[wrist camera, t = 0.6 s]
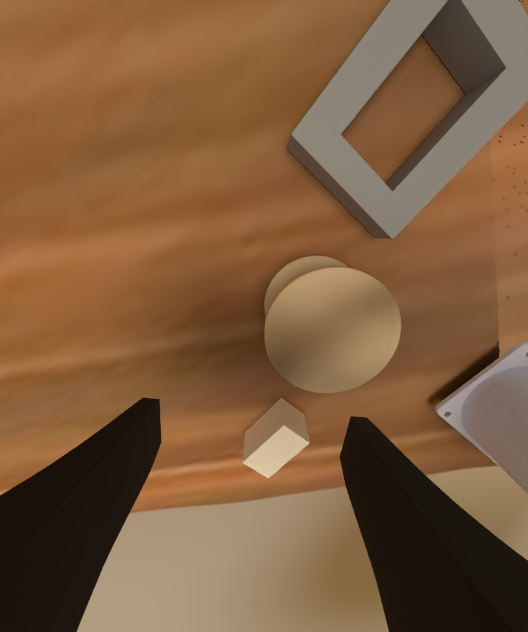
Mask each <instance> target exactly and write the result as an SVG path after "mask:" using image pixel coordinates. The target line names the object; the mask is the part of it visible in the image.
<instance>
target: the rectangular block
mask: <svg viewBox="0 0 528 632" xmlns="http://www.w3.org/2000/svg"><path fill="white" fill-rule="evenodd" d="M309 443H310V441H309V436H308V432H307V427H306V422H305V417H304V414H303V413H302V412H301V411H299V410H298V409H296V408H295V407H294V406H292V405H291V404H289V403H288V402H287V401H285V400H284V399H282V398H280V399H279V400H278V401H277V402H276V403H275V404H274V405H273V406H272V407H271V408H270V409H269V410H268V411H267V412H266V413H265V414H264V415H262V416H261V417H260V418H259V419H258V420H257V421H256V422H255V423H254V424H253V425H252V426H251V427H250V428H249V429H248V430H247V431H246V432H245V441H244V452H243V463H244V464H246V465H247V466H249V467H250V468H252V469H254V470H255V471H257V472H259V473H260V474H262V475H263V476H265V477H267V478H269V477H270V476H271V475H273V474H274V473H275V472H276V471H277V470H279V469H280V468H281V467H282V466H283V465H284V464H286V463H287V462H288V461H289V460H290V459H292V458H293V457H294V456H295V455H296V454H298V453H299V452H300V451H301V450H302V449H303V448H305V447H306V446H307V445H308V444H309Z"/></svg>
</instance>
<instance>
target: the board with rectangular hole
mask: <svg viewBox="0 0 528 632" xmlns="http://www.w3.org/2000/svg"><path fill="white" fill-rule="evenodd" d="M421 34H422V35H423V37H424V38H425V40H426V41H427V42H428V44H429V45H430V46H431V48H432V49H433V50H434V52H435V53H436V55H437V56H438V57H439V59H440V60H441V61H442V63H443V64H444V65H445V67H446V68H447V69H448V71H449V72H450V74H451V75H452V76H453V78H454V79H455V80H456V82H457V83H458V84H459V86H460V87H461V89H462V90H463V91H464V93H465V94H466V95H465V96H464V97H463V98H462V99H461V100H460V101H459V102H458V104H457V105H456V106H455V107H454V108H453V109H452V110H451V111H450V112H449V114H448V115H447V116H446V117H445V118H444V119H443V120H442V121H441V122H440V124H439V125H438V126H437V127H436V128H435V129H434V130H433V131H432V132H431V133H430V135H429V136H428V137H427V138H426V139H425V140H424V141H423V142H422V143H421V145H420V146H419V147H418V148H417V149H416V150H415V151H414V152H413V153H412V155H411V156H410V157H409V158H408V159H407V160H406V161H405V162H404V163H403V165H402V166H401V167H400V168H399V169H398V170H397V171H396V172H395V173H394V175H393V176H392V177H391V178H390V179H389V180H388V181H387V182H386V183H384V182H383V180H382V179H381V178H380V177H379V176H378V175H377V174H376V173H375V172H374V171H373V169H372V168H371V167H370V166H369V165H368V164H367V163H366V162H365V161H364V160H363V159H362V157H361V156H360V155H359V154H358V153H357V152H356V151H355V150H354V149H353V148H352V146H351V145H350V144H349V143H348V142H347V141H346V140H345V139H344V138H343V137H342V135H341V133H342V132H343V131H344V130H345V128H346V127H347V126H348V125H349V123H350V122H351V121H352V120H353V118H354V117H355V116H356V115H357V113H358V112H359V111H360V110H361V108H362V107H363V106H364V105H365V103H366V102H367V101H368V100H369V98H370V97H371V96H372V95H373V93H374V92H375V91H376V90H377V88H378V87H379V86H380V85H381V83H382V82H383V81H384V80H385V78H386V77H387V76H388V75H389V73H390V72H391V71H392V70H393V68H394V67H395V66H396V65H397V63H398V62H399V61H400V60H401V58H402V57H403V56H404V55H405V53H406V52H407V51H408V50H409V48H410V47H411V46H412V45H413V43H414V42H415V41H416V40H417V38H418V37H419V36H420V35H421ZM527 101H528V15H527V13H526V12H525V10H524V9H523V7H522V5H521V4H520V2H519V0H391V1H390V2H389V3H388V5H387V6H386V7H385V9H384V10H383V11H382V13H381V14H380V15H379V17H378V18H377V19H376V21H375V22H374V23H373V25H372V26H371V27H370V29H369V30H368V31H367V33H366V34H365V36H364V37H363V38H362V40H361V41H360V42H359V44H358V45H357V46H356V48H355V49H354V50H353V52H352V53H351V54H350V56H349V57H348V58H347V60H346V61H345V62H344V64H343V65H342V67H341V68H340V69H339V71H338V72H337V73H336V75H335V76H334V77H333V79H332V80H331V81H330V83H329V84H328V85H327V87H326V88H325V89H324V91H323V92H322V93H321V95H320V96H319V97H318V99H317V100H316V102H315V103H314V104H313V106H312V107H311V108H310V110H309V111H308V112H307V114H306V115H305V116H304V118H303V119H302V120H301V122H300V123H299V124H298V126H297V127H296V128H295V130H294V131H293V133H292V134H291V136H290V140H289V143H288V147H287V150H288V151H289V152H290V153H291V154H292V155H293V156H294V157H295V158H296V159H297V160H298V161H299V162H300V163H301V164H302V165H303V166H304V167H305V168H306V169H307V170H308V171H309V172H310V173H311V174H312V175H313V176H314V177H315V178H316V179H317V180H318V181H319V182H320V183H321V184H322V185H323V186H324V187H325V188H326V189H327V190H328V191H329V192H330V193H331V194H332V195H333V196H334V197H335V198H336V199H337V200H338V201H339V202H340V203H341V204H342V205H343V206H344V207H345V208H346V209H347V210H348V211H349V212H350V213H351V214H352V215H353V216H354V217H355V218H356V219H357V220H358V221H359V222H360V223H361V224H362V225H363V226H364V227H365V229H366V230H367V231H368V232H369V233H370V234H371V235H372V236H373V237H375V238H384V239H393V238H394V237H395V236H396V235H397V234H398V233H399V232H400V231H401V230H402V229H403V228H404V227H405V226H406V225H407V224H408V223H409V222H410V221H411V220H412V219H413V218H414V217H415V216H416V215H417V214H418V213H419V212H420V211H421V210H422V209H423V208H424V207H425V206H426V205H427V204H428V203H429V201H430V200H431V199H432V198H433V197H434V196H435V195H436V194H437V193H438V192H439V191H440V190H441V189H442V188H443V187H444V186H445V185H446V184H447V183H448V182H449V181H450V180H451V179H452V178H453V177H454V176H455V175H456V174H457V173H458V172H459V171H460V170H461V169H462V168H463V167H464V166H465V165H466V164H467V163H468V162H469V160H470V159H471V158H472V157H473V156H474V155H475V154H476V153H477V152H478V151H479V150H480V149H481V148H482V147H483V146H484V145H485V144H486V143H487V142H488V141H489V140H490V139H491V138H492V137H493V136H494V135H495V134H496V133H497V132H498V131H499V130H500V129H501V128H502V127H503V126H504V125H505V124H506V123H507V122H508V121H509V120H510V118H511V117H512V116H513V115H514V114H515V113H516V112H517V111H518V110H519V109H520V108H521V107H522V106H523V105H524V104H525V103H526V102H527Z"/></svg>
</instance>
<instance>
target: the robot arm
mask: <svg viewBox="0 0 528 632" xmlns="http://www.w3.org/2000/svg"><path fill="white" fill-rule="evenodd" d="M435 411H436V413H437V414H438V415H440V416H441V417H442V418H443V419H444V420H445V421H447V422H448V423H449V424H450V425H451V426H452V427H454V428H455V429H456V430H457V431H458V432H459V433H461V434H462V435H463V436H464V437H465V438H466V439H468V440H469V441H470V442H471V443H472V444H474V445H475V446H476V447H477V448H478V449H479V450H481V451H482V452H483V453H484V454H485V455H486V456H488V457H489V458H490V459H491V460H492V461H493V462H495V463H496V464H497V465H498V466H501V467H502V468H503V470H505V472H506V473H507V474H508V475H510V477H511V478H512V479H513V480H514V481H515V482H516V483H517V484H518V485H519V486H520V487H521V488H522V489H523V490H524V491H525V492H526V493H527V494H528V343H526V342H520V343H518V344H516V345H515V346H514V347H512V348H511V349H510V350H508V351H507V352H506V353H504V354H503V355H502V356H500V357H499V358H498V359H496V360H495V361H494V362H493V363H491V364H490V365H489V366H487V367H486V368H485V369H483V370H482V371H481V372H479V373H478V374H477V375H475V376H474V377H473V378H471V379H470V380H469V381H468V382H466V383H465V384H464V385H462V386H461V387H460V388H458V389H457V390H456V391H454V392H453V393H452V394H450V395H449V396H448V397H446V398H445V399H444V400H442V401H441V402H440V403H439V404H437V405H436V406H435ZM160 444H161V424H160V402H159V399H150V398H142V399H141V400H139V401H138V402H137V403H135V404H134V405H133V406H131V407H130V408H129V409H127V410H126V411H125V412H123V413H122V414H121V415H119V416H118V417H117V418H115V419H114V420H113V421H111V422H110V423H109V424H107V425H106V426H105V427H103V428H102V429H101V430H99V431H98V432H97V433H95V434H94V435H92V436H91V437H90V438H88V439H87V440H86V441H84V442H83V443H81V444H80V445H78V446H77V447H75V448H74V449H73V450H71V451H70V452H68V453H67V454H65V455H64V456H62V457H61V458H59V459H58V460H56V461H55V462H54V463H52V464H51V465H49V466H47V467H46V468H44V469H43V470H41V471H40V472H38V473H36V474H35V475H33V476H32V477H30V478H29V479H27V480H25V481H24V482H22V483H20V484H19V485H17V486H15V487H14V488H12V489H10V490H9V491H7V492H5V493H4V494H2V495H0V632H77V629H78V627H79V624H80V622H81V619H82V617H83V614H84V612H85V609H86V607H87V604H88V602H89V600H90V597H91V595H92V592H93V590H94V588H95V585H96V583H97V580H98V578H99V576H100V573H101V571H102V568H103V566H104V564H105V561H106V559H107V557H108V555H109V553H110V551H111V549H112V546H113V544H114V542H115V540H116V539H117V537H118V534H119V533H120V531H121V529H122V526H123V525H124V522H125V521H126V519H127V517H128V515H129V513H130V511H131V509H132V507H133V505H134V503H135V501H136V499H137V497H138V495H139V493H140V491H141V489H142V487H143V485H144V483H145V481H146V479H147V477H148V475H149V473H150V471H151V468H152V466H153V463H154V460H155V458H156V455H157V452H158V450H159V447H160ZM340 461H341V466H342V471H343V475H344V480H345V484H346V488H347V491H348V494H349V498H350V500H351V503H352V507H353V510H354V513H355V516H356V519H357V522H358V525H359V528H360V531H361V534H362V537H363V540H364V543H365V546H366V549H367V552H368V555H369V558H370V561H371V565H372V568H373V571H374V575H375V578H376V582H377V585H378V589H379V593H380V597H381V601H382V605H383V609H384V613H385V617H386V621H387V625H388V629H389V632H528V561H527V560H526V559H525V558H523V557H522V556H521V555H519V554H518V553H517V552H515V551H514V550H513V549H512V548H510V547H509V546H508V545H506V544H505V543H504V542H503V541H501V540H500V539H498V538H497V537H496V536H495V535H494V534H492V533H491V532H490V531H489V530H488V529H486V528H485V527H484V526H483V525H481V524H480V523H479V522H478V521H477V520H475V519H474V518H473V517H472V516H471V515H469V514H468V513H467V512H466V511H465V510H463V509H462V508H461V507H460V506H459V505H458V504H456V503H455V502H454V501H453V500H452V499H451V498H450V497H449V496H447V495H446V494H445V493H444V492H443V491H442V490H441V489H440V488H439V487H437V486H436V485H435V484H434V483H433V482H432V481H431V480H430V479H429V478H428V477H427V476H426V475H424V474H423V473H422V472H421V471H420V470H419V469H418V468H417V467H416V466H415V465H414V464H413V463H412V462H411V461H410V460H409V459H408V458H407V457H406V456H405V455H404V454H403V453H402V452H401V451H400V450H399V449H398V448H397V447H396V446H395V445H394V444H393V443H392V442H391V441H390V440H389V439H388V438H387V437H386V436H385V435H384V434H383V433H382V432H381V431H380V430H379V429H378V428H377V427H376V426H375V425H374V424H373V423H372V422H371V421H370V420H369V419H368V418H364V417H353V416H351V418H350V422H349V425H348V429H347V433H346V436H345V440H344V443H343V447H342V451H341V454H340Z"/></svg>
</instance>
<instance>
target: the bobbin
mask: <svg viewBox="0 0 528 632" xmlns="http://www.w3.org/2000/svg"><path fill="white" fill-rule="evenodd" d="M264 312H265V318H266V319H265V327H264V338H265V347H266V352H267V355H268V358H269V360H270V362H271V364H272V365H273V367H274V368H275V370H276V371H277V372H278V373H279V374H280V375H281V376H282V377H283V378H284V379H285V380H286V381H288V382H289V383H291V384H293V385H294V386H297V387H299V388H301V389H304V390H307V391H311V392H316V393H337V392H342V391H347V390H350V389H353V388H356V387H358V386H360V385H362V384H364V383H366V382H367V381H369V380H371V379H372V378H373V377H375V376H376V375H377V374H378V373H379V372H380V371H381V370H382V369H383V368H384V367H385V366H386V365H387V363H388V362H389V361H390V359H391V358H392V356H393V354H394V352H395V350H396V348H397V345H398V342H399V339H400V334H401V317H400V312H399V308H398V305H397V303H396V301H395V299H394V297H393V296H392V294H391V293H390V291H389V290H388V289H387V288H386V287H385V286H384V285H383V284H382V283H381V282H379V281H378V280H377V279H375V278H373V277H372V276H370V275H368V274H366V273H364V272H361V271H359V270H356V269H353V268H349V267H348V266H347V265H345V264H344V263H342V262H340V261H338V260H336V259H333V258H331V257H327V256H321V255H311V256H304V257H301V258H298V259H295V260H293V261H291V262H289V263H288V264H286V265H285V266H284V267H282V268H281V269H280V270H279V271H278V272H277V273H276V274H275V276H274V277H273V278H272V280H271V282H270V283H269V286H268V288H267V291H266V295H265V301H264Z"/></svg>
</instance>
